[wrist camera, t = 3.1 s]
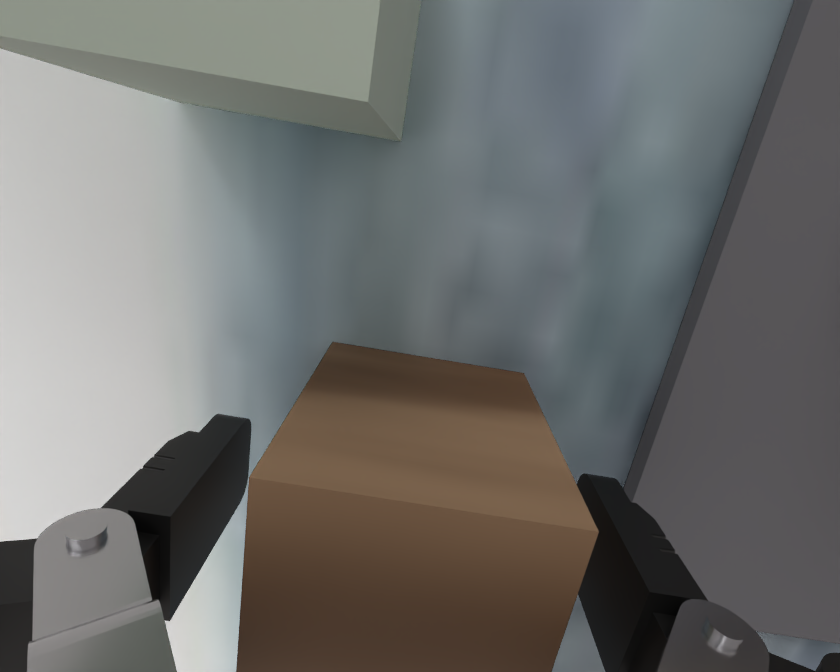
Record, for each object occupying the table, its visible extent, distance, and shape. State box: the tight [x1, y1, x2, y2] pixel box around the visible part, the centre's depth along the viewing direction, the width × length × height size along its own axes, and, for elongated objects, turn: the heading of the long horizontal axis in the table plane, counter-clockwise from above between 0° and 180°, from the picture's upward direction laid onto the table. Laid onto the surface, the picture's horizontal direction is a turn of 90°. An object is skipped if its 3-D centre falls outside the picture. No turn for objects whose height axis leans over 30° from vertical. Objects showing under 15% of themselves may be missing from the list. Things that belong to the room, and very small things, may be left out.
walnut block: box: [236, 342, 599, 672], centre depth 10 cm, size 5×5×6 cm
